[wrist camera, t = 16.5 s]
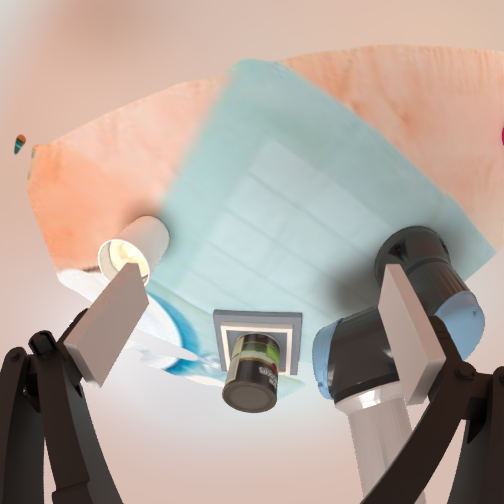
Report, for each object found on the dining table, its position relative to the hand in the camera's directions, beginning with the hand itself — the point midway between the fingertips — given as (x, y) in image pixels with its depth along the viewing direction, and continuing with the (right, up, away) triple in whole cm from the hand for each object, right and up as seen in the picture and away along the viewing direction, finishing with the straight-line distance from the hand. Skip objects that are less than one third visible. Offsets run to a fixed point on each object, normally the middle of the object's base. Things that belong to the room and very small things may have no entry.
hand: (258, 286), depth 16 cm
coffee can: (+1, -19, +50) cm, 54 cm away
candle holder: (-20, +5, +42) cm, 47 cm away
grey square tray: (+1, -18, +51) cm, 54 cm away
